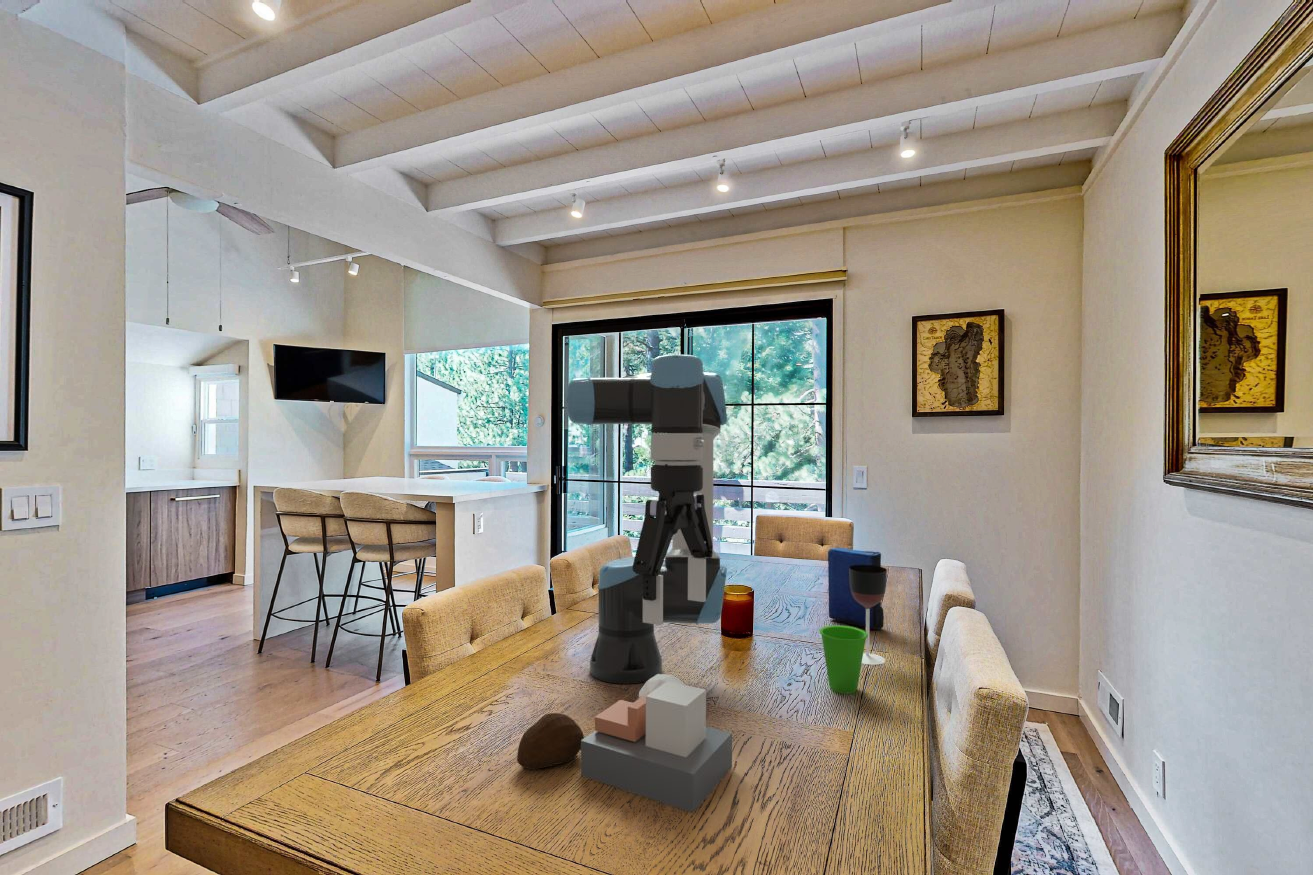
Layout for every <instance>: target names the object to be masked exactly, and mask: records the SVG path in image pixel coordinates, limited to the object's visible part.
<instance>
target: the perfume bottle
mask: <svg viewBox="0 0 1313 875" xmlns="http://www.w3.org/2000/svg"><path fill="white" fill-rule="evenodd" d="M667 681H669V682H674V683H678V684H683V685H686V684H685V683H684V681H683V682H682V680H680V679H679V678H678V677H676V676H674V675H673V674H663V673H661V674H657V675H655V676H654V677H652V678H651V679H649V680H648V681H645V683H644V685H643V686H642V687H641V689H640V690H639V691H638V699H639V698H641V697H642V696H644V695H645V694H646V693H648V692H653V691H654V690H655V689H657V688H658V687H660V686H661V685H663V684H664V683H665V682H667Z"/></svg>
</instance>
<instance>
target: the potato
mask: <svg viewBox="0 0 1313 875" xmlns="http://www.w3.org/2000/svg"><path fill="white" fill-rule="evenodd" d="M584 738H585V736H584V732H583V730H582V728H581V727H580V725H579V724H578V723H576V721H575V720H574V719H573V718H572V717H570V716H569V715H567V714H564V713H559V712H551V713H547V714H544V715H543V716H541V717H540V718H539V719H538V720H537V721H536V722H535V723H534V724H532V725H531V726H530V727H529V728H528V729H527V730H525V732H524V733H523V734H522V736H521V739H520V740H519V745H518V748H517V754H516V755H517V756H516V761H517V762H518V765H520V766H521V767H522V768H525V769H531V770H532V769H533V770H537V769H542V768H547V767H550V766H554V765H558V764H565V763H567V762H570V761H571V760H573V759H574V758H575V757H577V756H578V754H579V752H581V740H583V739H584Z"/></svg>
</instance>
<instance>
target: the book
mask: <svg viewBox="0 0 1313 875" xmlns="http://www.w3.org/2000/svg"><path fill="white" fill-rule="evenodd" d="M827 563H828V564H827V570H828V574H827V575H828V576H827V577H828V578H827V579H828V617H829V618H830V619H831V620H834V621H837V622H842V623H845V624H850V625H851V626H852V625H853V626H858V627H861V628H866V608H865V607H864V606H863V605H861V604H859V603H858V602H857V601H856V600H855V599H854V597H853V595H852V592H851V588H850V578H849V567H850V566H853V565H874V566H880V567H882V553H881V552H879V551H872V550H871V551H870V550H869V551H868V550H865V551H864V550H857V549H849V548H845V547H839V546H837V547H833V548H830V549H828V552H827ZM884 616H885V615H884V608H883V607H882V601H881V602H879V603H878V604H877V605H875V606H873V607H871V608H870V616H869V630H870V629H871V630H879V629H883V628H884V622H885V621H884V620H885V619H884V618H885V617H884Z"/></svg>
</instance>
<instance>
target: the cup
mask: <svg viewBox="0 0 1313 875" xmlns="http://www.w3.org/2000/svg"><path fill="white" fill-rule="evenodd" d="M819 633H820V634H821V640H822V641H821V642H822V647H823V653H824V661H825V667H826V672H827V678H828V679H827V680H828V685H829V687H830V689H831V690H832V691H834V692H836V693H840V694H847V695H848V694H854V693H856V691H857V690H858V688H859V682H860V681H859V680H860V675H861V668H862V664H863V663H862V658H863V653H865V651H864V650H865V647H866V638H867V637H868V635H867V633H866V630H863V629H860V628H858V627H854V626H849V625H841V624H840V625H837V624H836V625H827V626H822V627H821V628H820V629H819Z"/></svg>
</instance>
